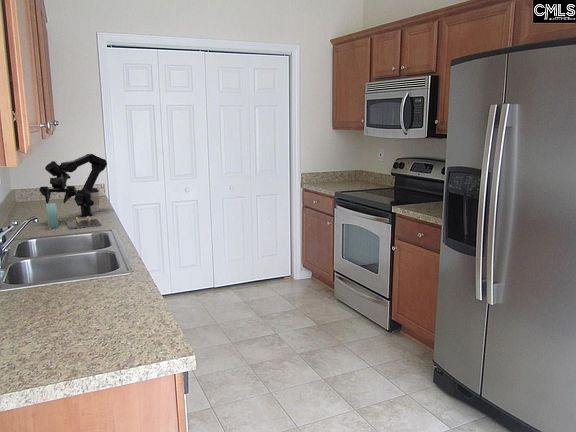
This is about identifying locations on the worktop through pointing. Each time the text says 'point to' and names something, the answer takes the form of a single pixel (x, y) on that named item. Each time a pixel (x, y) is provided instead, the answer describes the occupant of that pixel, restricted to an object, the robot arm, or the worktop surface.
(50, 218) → the post
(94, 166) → the robot arm
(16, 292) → the worktop surface
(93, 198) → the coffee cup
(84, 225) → the metal base plate
